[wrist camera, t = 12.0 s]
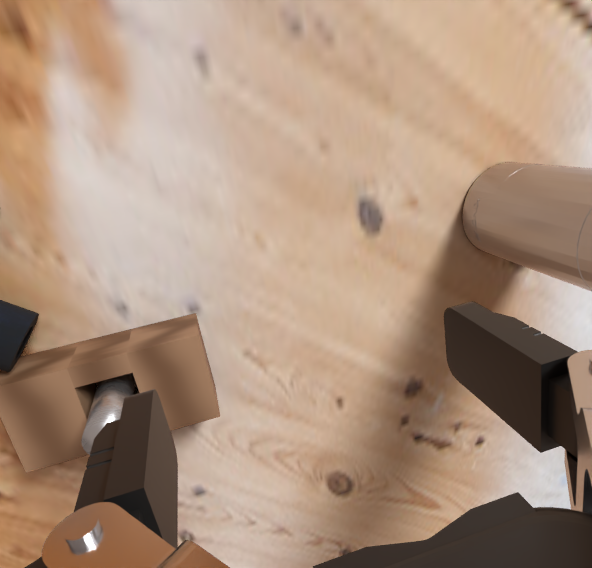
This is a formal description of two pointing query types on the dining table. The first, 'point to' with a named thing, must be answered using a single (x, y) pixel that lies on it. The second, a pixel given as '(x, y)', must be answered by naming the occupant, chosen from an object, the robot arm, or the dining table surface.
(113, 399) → the pin
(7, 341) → the pipe connector
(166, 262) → the dining table surface
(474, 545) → the robot arm
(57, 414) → the socket block
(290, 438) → the dining table surface
